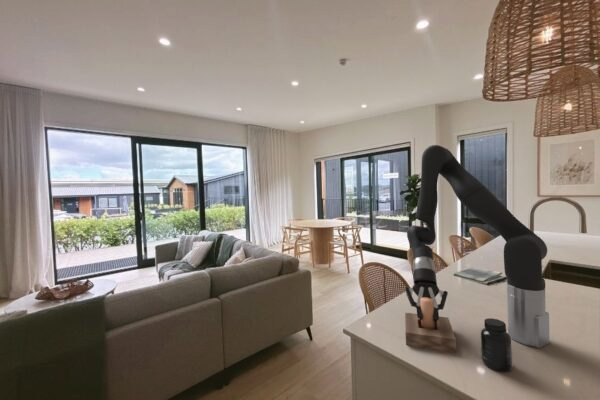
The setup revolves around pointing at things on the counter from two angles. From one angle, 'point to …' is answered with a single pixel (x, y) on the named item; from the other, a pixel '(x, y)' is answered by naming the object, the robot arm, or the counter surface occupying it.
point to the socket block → (430, 334)
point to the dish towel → (481, 275)
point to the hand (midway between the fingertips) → (428, 320)
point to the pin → (427, 313)
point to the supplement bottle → (496, 345)
